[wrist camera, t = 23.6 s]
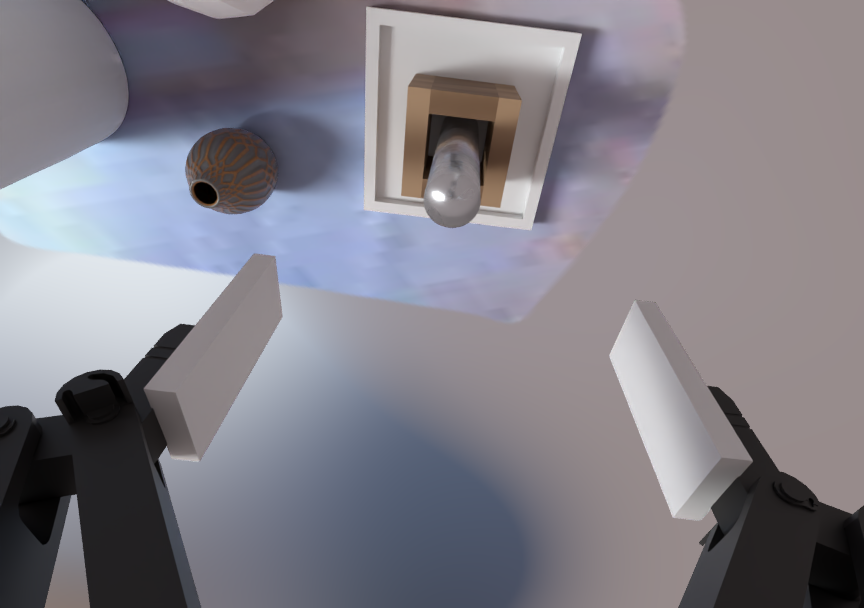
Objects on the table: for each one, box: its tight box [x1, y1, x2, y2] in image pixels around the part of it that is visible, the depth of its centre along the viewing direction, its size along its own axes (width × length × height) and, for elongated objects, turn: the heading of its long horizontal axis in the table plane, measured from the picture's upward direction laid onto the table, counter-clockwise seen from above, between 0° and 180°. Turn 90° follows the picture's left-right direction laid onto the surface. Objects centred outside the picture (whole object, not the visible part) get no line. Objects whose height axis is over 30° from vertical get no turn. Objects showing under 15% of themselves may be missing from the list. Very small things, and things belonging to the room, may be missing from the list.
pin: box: [424, 116, 481, 228], centre depth 31 cm, size 3×3×16 cm
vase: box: [185, 128, 278, 214], centre depth 37 cm, size 7×7×9 cm
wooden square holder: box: [401, 74, 522, 208], centre depth 35 cm, size 8×8×6 cm
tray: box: [364, 7, 582, 230], centre depth 37 cm, size 16×16×2 cm
